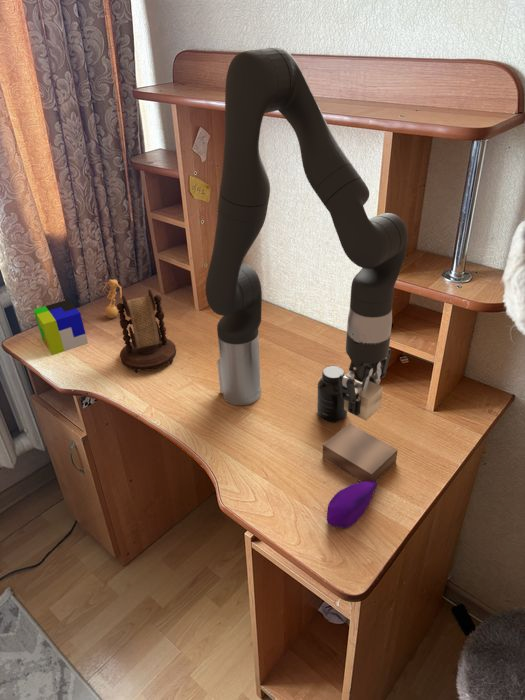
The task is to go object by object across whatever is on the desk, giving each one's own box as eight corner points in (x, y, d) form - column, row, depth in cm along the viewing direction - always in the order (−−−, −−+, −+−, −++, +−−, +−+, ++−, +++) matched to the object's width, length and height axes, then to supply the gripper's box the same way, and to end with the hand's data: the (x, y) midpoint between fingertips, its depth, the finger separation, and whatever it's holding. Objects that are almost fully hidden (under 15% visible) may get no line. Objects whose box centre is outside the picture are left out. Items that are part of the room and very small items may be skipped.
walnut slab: (322, 458, 113) (322, 444, 111) (348, 436, 118) (349, 423, 116) (369, 488, 106) (371, 474, 103) (395, 464, 111) (397, 449, 109)
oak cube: (343, 409, 103) (345, 388, 101) (358, 397, 106) (360, 376, 104) (366, 420, 100) (368, 399, 98) (380, 407, 103) (382, 386, 101)
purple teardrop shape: (388, 478, 102) (340, 520, 93) (384, 497, 105) (337, 540, 95) (367, 466, 105) (318, 505, 95) (363, 485, 107) (316, 525, 98)
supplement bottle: (327, 400, 128) (329, 358, 122) (352, 411, 124) (355, 369, 118) (311, 415, 124) (311, 373, 117) (336, 427, 120) (338, 384, 114)
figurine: (98, 316, 166) (90, 281, 159) (113, 308, 170) (106, 273, 163) (117, 323, 162) (109, 287, 155) (132, 315, 166) (125, 280, 159)
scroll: (128, 380, 137) (113, 312, 126) (116, 352, 149) (102, 287, 138) (183, 365, 142) (174, 298, 131) (168, 339, 154) (158, 275, 143)
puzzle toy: (88, 343, 153) (80, 312, 148) (52, 355, 149) (43, 324, 143) (76, 328, 160) (68, 299, 155) (42, 339, 156) (33, 309, 150)
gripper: (372, 307, 100) (366, 381, 110) (326, 339, 92) (323, 416, 101) (409, 320, 96) (398, 395, 105) (364, 355, 87) (357, 434, 97)
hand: (362, 405), depth 103 cm, fingers closed on oak cube, 5 cm apart
